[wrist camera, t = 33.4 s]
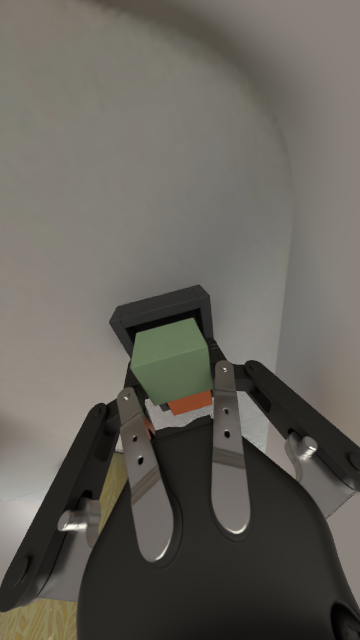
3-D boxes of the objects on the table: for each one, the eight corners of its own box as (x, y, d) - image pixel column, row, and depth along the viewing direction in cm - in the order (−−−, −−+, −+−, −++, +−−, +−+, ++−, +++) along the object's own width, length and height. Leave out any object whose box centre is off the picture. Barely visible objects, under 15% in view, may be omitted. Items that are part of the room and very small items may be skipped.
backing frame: (199, 284, 14) (209, 295, 12) (211, 378, 23) (219, 395, 21) (116, 306, 14) (108, 322, 11) (161, 392, 23) (163, 412, 21)
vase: (102, 441, 29) (-91, 1220, 6) (147, 456, 38) (139, 785, 15) (39, 468, 30) (-299, 1153, 8) (97, 476, 39) (21, 799, 17)
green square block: (193, 317, 13) (207, 346, 9) (200, 356, 16) (213, 389, 12) (136, 332, 12) (129, 368, 9) (154, 369, 15) (154, 406, 12)
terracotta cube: (199, 355, 19) (209, 381, 15) (203, 378, 22) (212, 404, 18) (161, 366, 19) (162, 395, 15) (170, 388, 22) (174, 416, 18)
